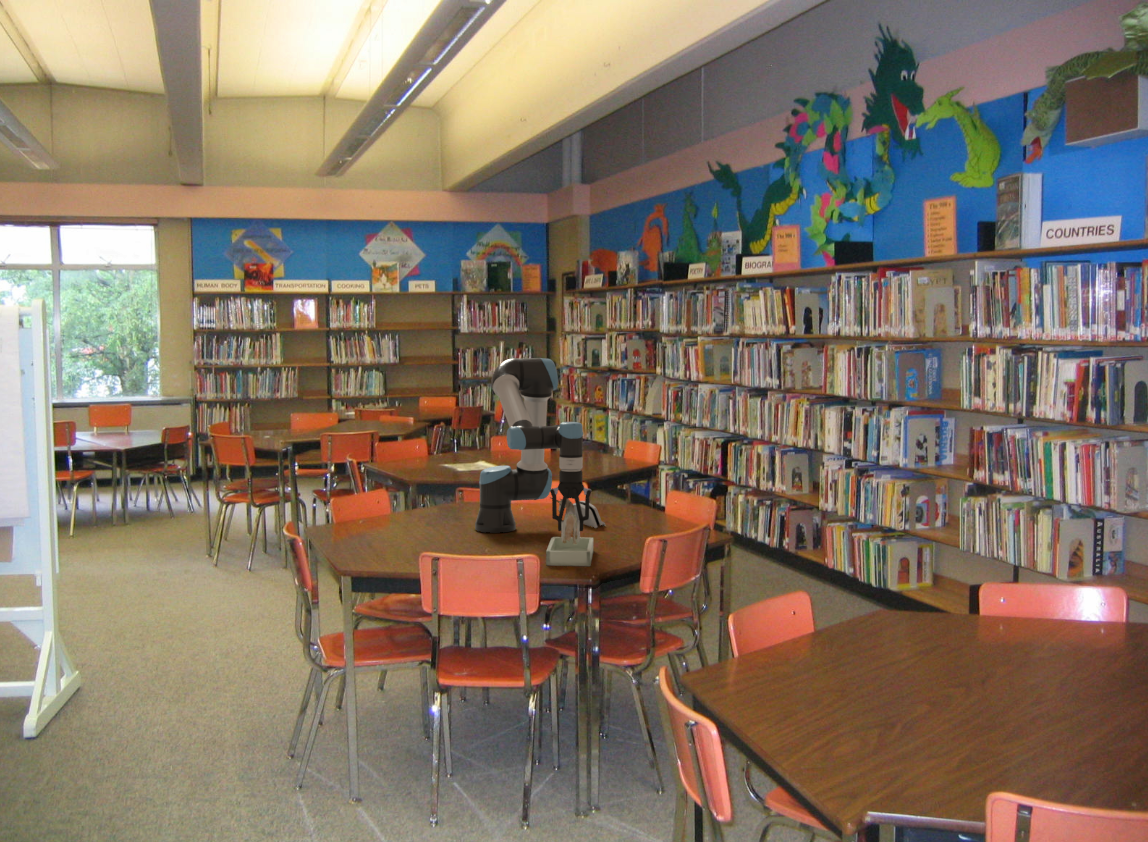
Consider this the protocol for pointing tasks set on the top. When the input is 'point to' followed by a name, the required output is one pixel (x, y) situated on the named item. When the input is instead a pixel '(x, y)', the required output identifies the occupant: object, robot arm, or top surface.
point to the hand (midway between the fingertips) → (570, 540)
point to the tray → (569, 552)
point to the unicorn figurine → (569, 521)
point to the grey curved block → (590, 515)
